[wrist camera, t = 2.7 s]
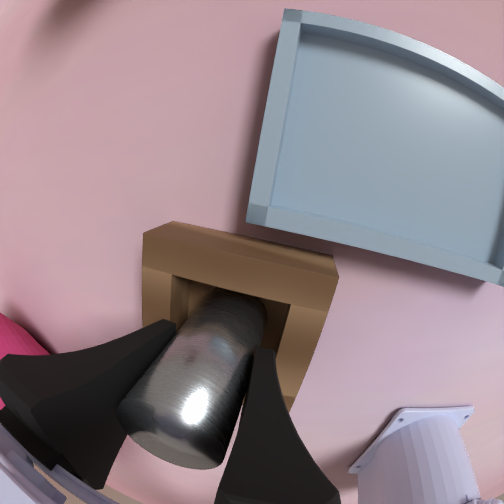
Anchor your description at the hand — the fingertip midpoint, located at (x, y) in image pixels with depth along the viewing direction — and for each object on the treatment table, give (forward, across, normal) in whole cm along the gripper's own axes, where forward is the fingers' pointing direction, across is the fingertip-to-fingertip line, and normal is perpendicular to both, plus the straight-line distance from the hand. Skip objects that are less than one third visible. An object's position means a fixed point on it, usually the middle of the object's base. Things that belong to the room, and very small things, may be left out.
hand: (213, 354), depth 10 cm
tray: (+4, -7, -10) cm, 13 cm away
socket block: (+4, 0, 0) cm, 4 cm away
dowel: (+3, 0, 0) cm, 3 cm away
